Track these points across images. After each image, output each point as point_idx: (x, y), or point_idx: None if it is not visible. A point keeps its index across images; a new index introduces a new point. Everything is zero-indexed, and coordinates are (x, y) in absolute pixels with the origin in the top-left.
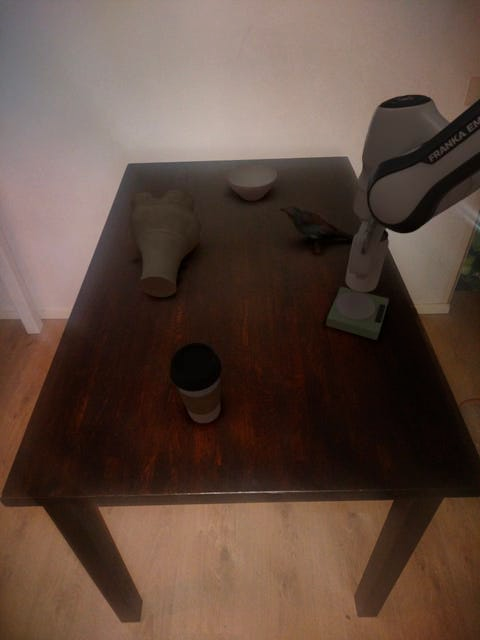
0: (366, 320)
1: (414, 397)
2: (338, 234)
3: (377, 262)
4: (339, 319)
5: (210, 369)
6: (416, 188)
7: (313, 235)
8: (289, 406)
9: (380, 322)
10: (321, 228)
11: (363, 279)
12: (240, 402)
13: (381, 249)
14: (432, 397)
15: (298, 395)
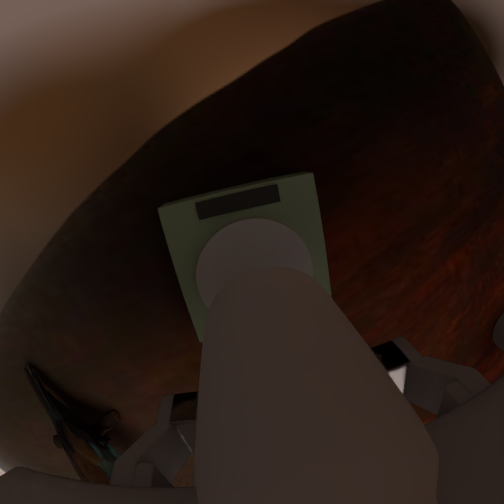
0: (287, 222)
1: (396, 59)
2: (57, 411)
3: (379, 372)
4: (324, 284)
5: None
6: None
7: (116, 456)
8: (489, 245)
9: (277, 184)
10: (95, 458)
11: (400, 337)
12: (494, 302)
13: (426, 451)
14: (375, 30)
15: (475, 245)
